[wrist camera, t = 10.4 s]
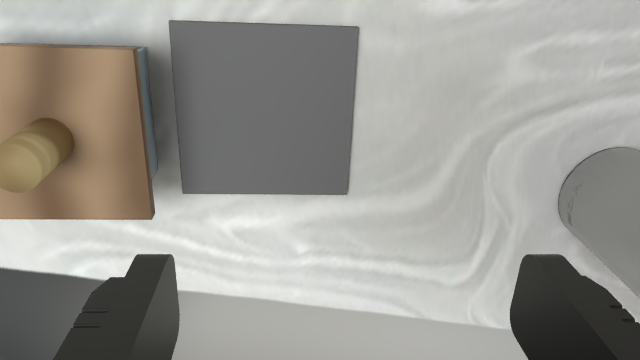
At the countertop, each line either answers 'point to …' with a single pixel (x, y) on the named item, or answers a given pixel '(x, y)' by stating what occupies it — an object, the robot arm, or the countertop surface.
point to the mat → (263, 106)
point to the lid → (73, 134)
